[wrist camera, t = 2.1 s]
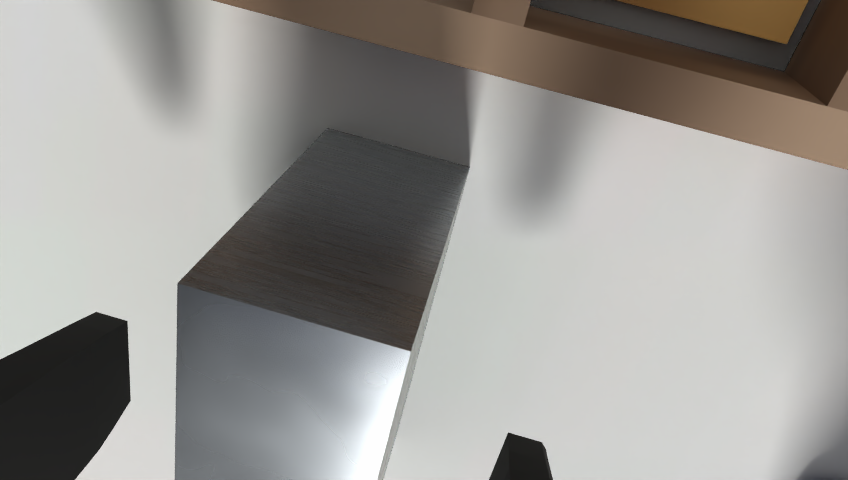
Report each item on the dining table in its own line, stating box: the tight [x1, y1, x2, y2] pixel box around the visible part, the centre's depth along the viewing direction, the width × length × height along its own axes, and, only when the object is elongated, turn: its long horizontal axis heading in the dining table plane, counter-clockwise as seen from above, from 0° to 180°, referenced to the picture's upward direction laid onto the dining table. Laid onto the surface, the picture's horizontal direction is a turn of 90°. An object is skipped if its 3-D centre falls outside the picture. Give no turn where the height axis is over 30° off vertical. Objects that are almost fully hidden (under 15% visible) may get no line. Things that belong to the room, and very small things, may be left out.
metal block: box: [175, 128, 470, 480], centre depth 12 cm, size 3×8×6 cm, turn 169°
